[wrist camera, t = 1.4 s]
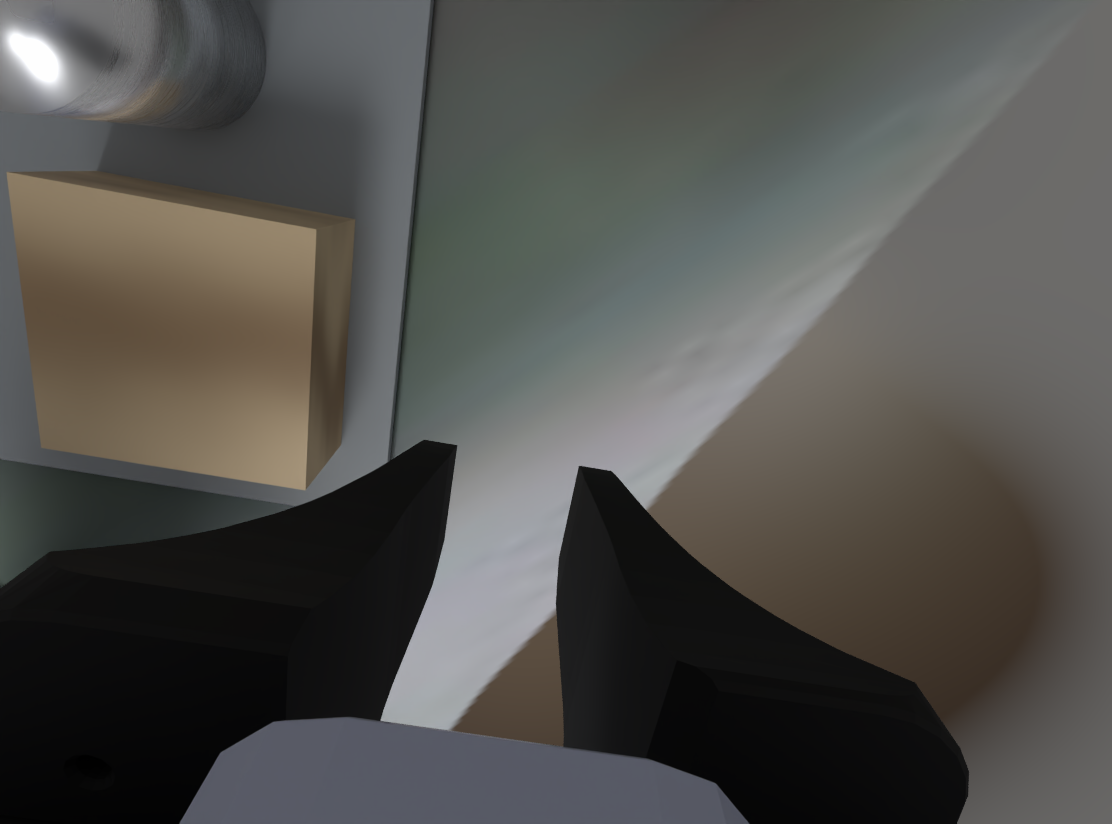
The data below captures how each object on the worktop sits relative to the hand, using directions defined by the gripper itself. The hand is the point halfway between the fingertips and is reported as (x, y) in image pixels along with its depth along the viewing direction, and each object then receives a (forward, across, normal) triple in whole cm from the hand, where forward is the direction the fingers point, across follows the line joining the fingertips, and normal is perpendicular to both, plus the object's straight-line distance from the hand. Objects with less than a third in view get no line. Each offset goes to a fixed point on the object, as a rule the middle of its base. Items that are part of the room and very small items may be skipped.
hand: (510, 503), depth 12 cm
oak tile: (+8, +9, 0) cm, 12 cm away
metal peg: (+8, +10, -7) cm, 15 cm away
